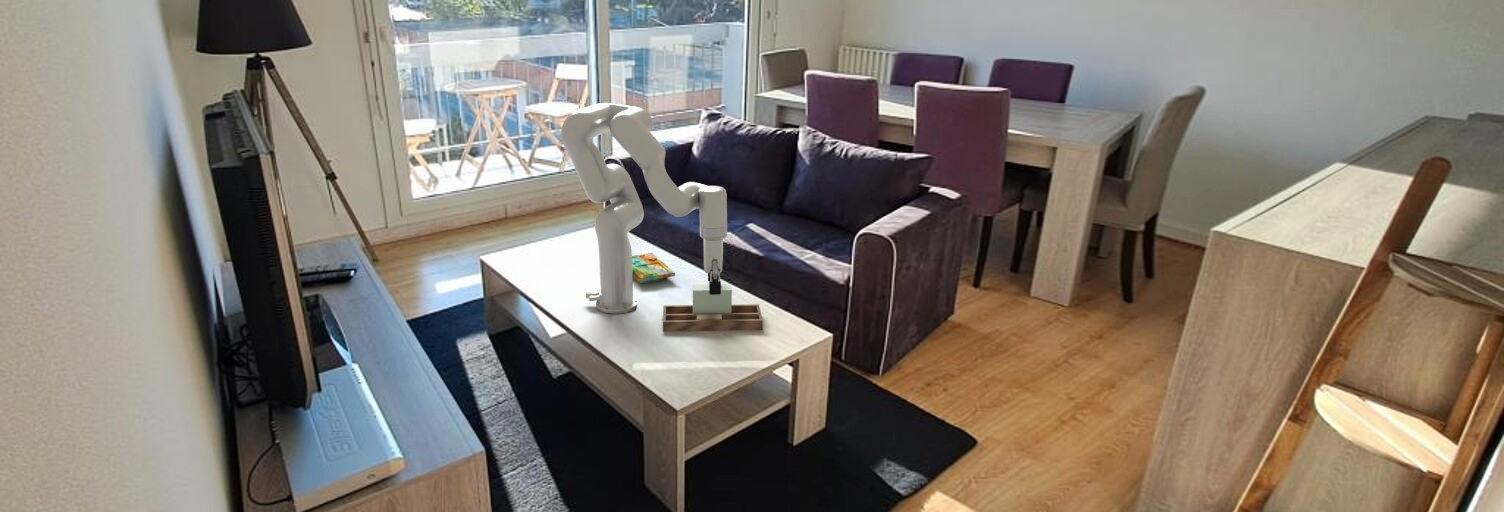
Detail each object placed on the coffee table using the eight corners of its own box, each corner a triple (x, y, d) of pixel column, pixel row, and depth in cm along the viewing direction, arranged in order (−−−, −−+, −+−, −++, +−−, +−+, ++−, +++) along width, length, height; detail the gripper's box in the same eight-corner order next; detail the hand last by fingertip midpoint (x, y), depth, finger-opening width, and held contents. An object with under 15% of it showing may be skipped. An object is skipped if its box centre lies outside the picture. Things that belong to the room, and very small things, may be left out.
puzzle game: (651, 250, 269) (675, 270, 253) (651, 262, 271) (675, 283, 254) (618, 255, 263) (641, 276, 247) (619, 268, 265) (641, 289, 249)
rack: (663, 335, 219) (662, 321, 217) (663, 318, 229) (663, 305, 228) (762, 333, 222) (762, 320, 220) (758, 317, 232) (758, 304, 230)
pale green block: (692, 322, 225) (693, 290, 221) (692, 316, 228) (692, 284, 225) (731, 321, 226) (731, 290, 222) (730, 315, 229) (730, 284, 226)
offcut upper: (696, 323, 220) (696, 318, 219) (696, 319, 222) (696, 314, 222) (721, 323, 221) (721, 318, 220) (721, 319, 223) (721, 314, 223)
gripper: (699, 221, 225) (700, 276, 231) (700, 241, 209) (702, 300, 215) (725, 220, 225) (725, 275, 231) (729, 240, 209) (729, 299, 215)
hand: (714, 287), depth 223 cm, fingers open, 9 cm apart
